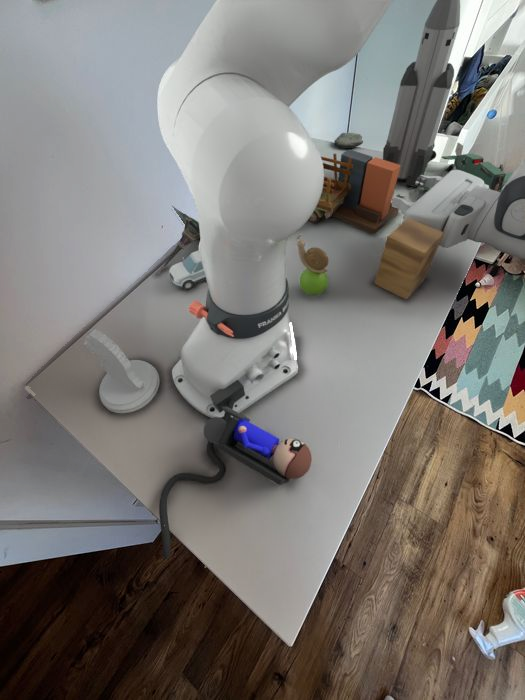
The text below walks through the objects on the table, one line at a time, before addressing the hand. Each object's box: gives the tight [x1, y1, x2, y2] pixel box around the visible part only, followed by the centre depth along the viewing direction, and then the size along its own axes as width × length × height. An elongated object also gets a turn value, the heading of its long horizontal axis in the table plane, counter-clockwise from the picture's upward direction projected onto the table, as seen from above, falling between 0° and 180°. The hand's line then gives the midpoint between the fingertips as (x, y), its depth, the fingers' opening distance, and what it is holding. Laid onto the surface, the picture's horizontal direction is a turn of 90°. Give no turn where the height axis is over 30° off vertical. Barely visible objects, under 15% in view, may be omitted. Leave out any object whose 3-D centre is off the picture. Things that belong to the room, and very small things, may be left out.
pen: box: [440, 163, 455, 177], centre depth 88 cm, size 1×16×1 cm, turn 142°
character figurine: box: [203, 407, 313, 486], centre depth 46 cm, size 8×7×15 cm
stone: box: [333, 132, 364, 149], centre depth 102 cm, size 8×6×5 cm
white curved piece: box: [83, 328, 161, 414], centre depth 51 cm, size 10×10×15 cm
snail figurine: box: [296, 233, 330, 296], centre depth 63 cm, size 5×6×12 cm
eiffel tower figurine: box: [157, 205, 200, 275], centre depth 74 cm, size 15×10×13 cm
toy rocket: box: [382, 0, 461, 189], centre depth 75 cm, size 12×9×35 cm
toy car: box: [169, 249, 206, 290], centre depth 70 cm, size 6×13×5 cm, turn 119°
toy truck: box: [307, 153, 353, 224], centre depth 79 cm, size 11×25×15 cm, turn 54°
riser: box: [373, 218, 444, 300], centre depth 63 cm, size 7×7×11 cm
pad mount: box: [330, 148, 400, 235], centre depth 77 cm, size 10×14×12 cm
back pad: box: [360, 156, 401, 220], centre depth 75 cm, size 3×6×11 cm, turn 47°
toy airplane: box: [422, 142, 514, 192], centre depth 82 cm, size 22×25×11 cm
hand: (405, 189), depth 71 cm, fingers open, 8 cm apart
